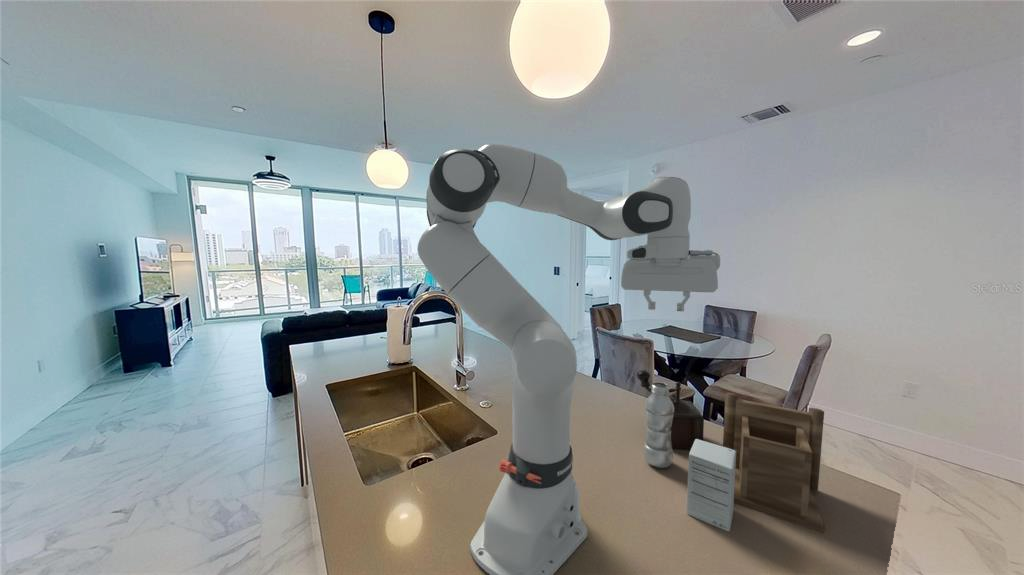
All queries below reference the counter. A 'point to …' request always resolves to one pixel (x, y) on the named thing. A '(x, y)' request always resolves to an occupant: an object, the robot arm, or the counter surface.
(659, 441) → the plastic bottle
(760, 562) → the counter surface
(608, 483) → the counter surface
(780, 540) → the counter surface
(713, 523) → the supplement box
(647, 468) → the counter surface
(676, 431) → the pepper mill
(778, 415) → the caddy
